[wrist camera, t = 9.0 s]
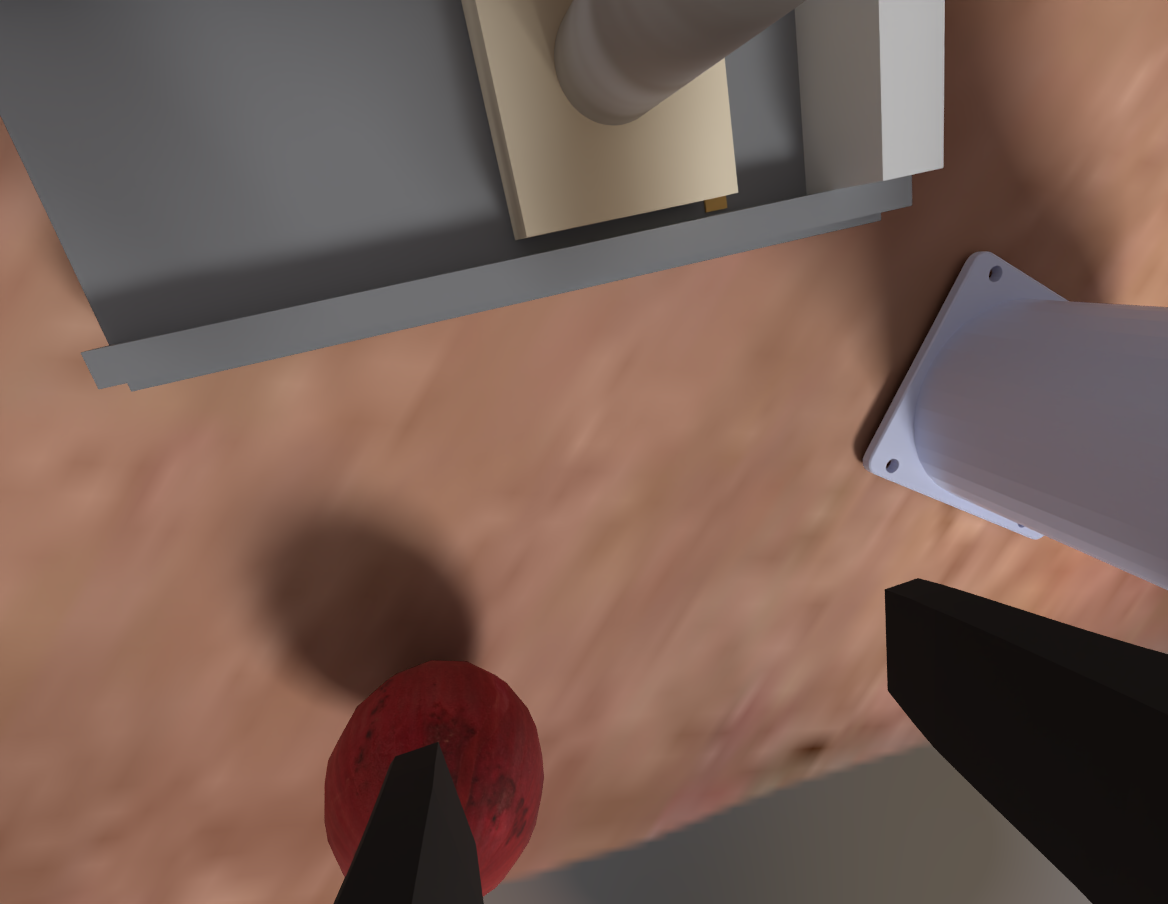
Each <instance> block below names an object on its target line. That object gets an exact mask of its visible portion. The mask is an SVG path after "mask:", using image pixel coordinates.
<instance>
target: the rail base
mask: <svg viewBox="0 0 1168 904" xmlns="http://www.w3.org/2000/svg"><path fill="white" fill-rule="evenodd" d="M944 32H945V0H806V1H804V2H803V3H802V4H800V5H799V6H798V7H796V8H795V9H793V10H792V11H790V12H789V13H788V14H786V15H785V16H783V17H782V18H780V19H779V20H778V21H776V22H775V23H773V24H772V25H771V26H769V27H768V28H766V29H765V30H763V31H762V32H761V33H759V34H758V35H756V36H755V37H753V38H752V39H751V40H749V41H748V42H746V43H745V44H743V45H742V46H741V47H739V48H738V49H736V50H735V51H733V52H732V53H731V54H729V55H728V56H726V57H725V66H726V76H727V86H728V96H729V106H730V116H731V126H732V136H733V146H734V155H735V165H736V175H737V185H738V193H734V194H730V195H726V196H721V197H717V198H713V199H708V200H704V201H699V202H695V203H690V204H685V205H681V206H676V207H671V208H666V209H662V210H657V211H652V212H647V213H643V214H638V215H633V216H628V217H624V218H619V219H614V220H609V221H605V222H600V223H595V224H590V225H586V226H581V227H576V228H572V229H567V230H562V231H557V232H553V233H548V234H543V235H538V236H534V237H529V238H524V239H519V240H515V237H514V233H513V229H512V224H511V220H510V215H509V211H508V206H507V202H506V197H505V193H504V189H503V184H502V180H501V175H500V171H499V166H498V162H497V158H496V153H495V149H494V144H493V140H492V135H491V131H490V126H489V122H488V118H487V113H486V109H485V104H484V100H483V95H482V91H481V87H480V82H479V78H478V73H477V69H476V64H475V60H474V55H473V51H472V47H471V42H470V38H469V33H468V29H467V24H466V20H465V16H464V11H463V7H462V2H461V0H0V116H1V118H2V120H3V122H4V124H5V126H6V128H7V130H8V132H9V135H10V137H11V139H12V141H13V143H14V145H15V147H16V149H17V151H18V154H19V156H20V158H21V160H22V162H23V164H24V166H25V168H26V170H27V173H28V175H29V177H30V179H31V181H32V183H33V185H34V187H35V189H36V192H37V194H38V196H39V198H40V200H41V202H42V204H43V206H44V208H45V211H46V213H47V215H48V217H49V219H50V221H51V223H52V225H53V227H54V229H55V232H56V234H57V236H58V238H59V240H60V242H61V244H62V246H63V248H64V251H65V253H66V255H67V257H68V259H69V261H70V263H71V265H72V267H73V270H74V272H75V274H76V276H77V278H78V280H79V282H80V284H81V286H82V289H83V291H84V293H85V295H86V297H87V299H88V301H89V303H90V305H91V308H92V310H93V312H94V314H95V316H96V318H97V320H98V322H99V324H100V327H101V329H102V331H103V333H104V335H105V337H106V339H107V341H108V343H109V346H105V347H101V348H97V349H93V350H89V351H85V352H81V355H82V357H83V359H84V361H85V363H86V365H87V367H88V369H89V371H90V373H91V375H92V377H93V379H94V381H95V383H96V385H97V387H98V389H102V388H107V387H111V386H116V385H120V384H125V383H128V386H129V388H130V390H131V392H132V391H136V390H140V389H145V388H149V387H154V386H158V385H162V384H167V383H171V382H175V381H180V380H184V379H189V378H193V377H197V376H202V375H206V374H211V373H215V372H219V371H224V370H228V369H232V368H237V367H241V366H246V365H250V364H254V363H259V362H263V361H267V360H272V359H276V358H281V357H285V356H289V355H294V354H298V353H302V352H307V351H311V350H316V349H320V348H324V347H329V346H333V345H338V344H342V343H346V342H351V341H355V340H359V339H364V338H368V337H373V336H377V335H381V334H386V333H390V332H394V331H399V330H403V329H408V328H412V327H416V326H421V325H425V324H429V323H434V322H438V321H443V320H447V319H451V318H456V317H460V316H465V315H469V314H473V313H478V312H482V311H486V310H491V309H495V308H500V307H504V306H508V305H513V304H517V303H521V302H526V301H530V300H535V299H539V298H543V297H548V296H552V295H556V294H561V293H565V292H570V291H574V290H578V289H583V288H587V287H592V286H596V285H600V284H605V283H609V282H613V281H618V280H622V279H627V278H631V277H635V276H640V275H644V274H648V273H653V272H657V271H662V270H666V269H670V268H675V267H679V266H683V265H688V264H692V263H697V262H701V261H705V260H710V259H714V258H719V257H723V256H727V255H732V254H736V253H740V252H745V251H749V250H754V249H758V248H762V247H767V246H771V245H775V244H780V243H784V242H789V241H793V240H797V239H802V238H806V237H810V236H815V235H819V234H824V233H828V232H832V231H837V230H841V229H845V228H850V227H854V226H859V225H863V224H867V223H872V222H876V221H881V212H886V211H890V210H895V209H899V208H903V207H908V206H912V175H913V174H918V173H922V172H927V171H931V170H936V169H941V168H943V157H944Z"/></svg>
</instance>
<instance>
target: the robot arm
mask: <svg viewBox="0 0 1168 904" xmlns="http://www.w3.org/2000/svg"><path fill="white" fill-rule="evenodd" d="M991 269H992V274H991V277H990V278H989V273H990V270H991ZM889 460H891V463H890V465H889V467H888V468H886V465H887V463H888V462H889ZM863 466H864V468H865V469H866V470H867V471H869V472H871V473H873V474H875V475H878V476H880V477H883V478H885V479H888V480H890V481H892V482H895V483H897V484H900V485H902V486H905V487H907V488H909V489H912V490H914V491H917V492H919V493H922V494H924V495H926V496H929V497H931V498H934V499H936V500H939V501H941V502H943V503H946V504H948V505H951V506H953V507H956V508H958V509H960V510H963V511H965V512H968V513H970V514H973V515H975V516H977V517H980V518H982V519H985V520H987V521H990V522H992V523H995V524H997V525H999V526H1002V527H1004V528H1007V529H1009V530H1012V531H1014V532H1016V533H1019V534H1021V535H1024V536H1026V537H1029V538H1031V539H1039V538H1041V537H1043V536H1044V535H1045V536H1047V537H1049V538H1052V539H1054V540H1056V541H1058V542H1061V543H1063V544H1065V545H1067V546H1070V547H1072V548H1074V549H1076V550H1079V551H1081V552H1083V553H1085V554H1088V555H1090V556H1092V557H1094V558H1097V559H1099V560H1101V561H1103V562H1106V563H1108V564H1110V565H1112V566H1115V567H1117V568H1119V569H1121V570H1123V571H1126V572H1128V573H1130V574H1132V575H1135V576H1137V577H1139V578H1141V579H1144V580H1146V581H1148V582H1150V583H1153V584H1155V585H1157V586H1159V587H1162V588H1164V589H1166V590H1168V307H1154V306H1137V305H1121V304H1104V303H1088V302H1071V301H1068V300H1066V299H1065V298H1063V297H1061V296H1060V295H1058V294H1057V293H1055V292H1054V291H1052V290H1050V289H1049V288H1047V287H1046V286H1044V285H1042V284H1041V283H1039V282H1038V281H1036V280H1034V279H1033V278H1031V277H1030V276H1028V275H1027V274H1025V273H1023V272H1022V271H1020V270H1019V269H1017V268H1015V267H1014V266H1012V265H1011V264H1009V263H1007V262H1006V261H1004V260H1003V259H1001V258H1000V257H998V256H996V255H995V254H993V253H991V252H988V251H981V252H975V253H973V254H972V255H970V256H969V258H968V259H967V260H966V262H965V264H964V266H963V268H962V270H961V272H960V273H959V275H958V277H957V279H956V281H955V283H954V285H953V287H952V289H951V291H950V292H949V294H948V296H947V298H946V300H945V302H944V304H943V306H942V308H941V310H940V312H939V313H938V315H937V317H936V319H935V321H934V323H933V325H932V327H931V329H930V331H929V332H928V334H927V336H926V338H925V340H924V342H923V344H922V346H921V348H920V350H919V352H918V353H917V355H916V357H915V359H914V361H913V363H912V365H911V367H910V369H909V371H908V372H907V374H906V376H905V378H904V380H903V382H902V384H901V386H900V388H899V390H898V392H897V393H896V395H895V397H894V399H893V401H892V403H891V405H890V407H889V409H888V411H887V412H886V414H885V416H884V418H883V420H882V422H881V424H880V426H879V428H878V430H877V432H876V433H875V435H874V437H873V439H872V441H871V443H870V445H869V447H868V449H867V451H866V452H865V455H864V457H863ZM885 613H886V647H887V681H888V691H889V693H890V694H891V695H892V697H893V698H894V699H895V700H896V702H897V703H898V704H899V705H900V707H901V708H902V709H903V710H904V712H905V713H906V714H907V716H908V717H909V718H910V719H911V721H912V722H913V723H914V724H915V725H916V727H917V728H918V729H919V730H920V731H921V733H922V734H923V735H924V736H925V737H926V738H927V740H928V741H929V742H930V743H931V744H932V746H933V747H934V748H935V749H936V750H937V751H938V752H939V753H940V754H941V755H942V756H943V757H944V758H945V759H946V760H947V761H948V762H949V763H950V764H951V765H952V766H953V767H954V768H955V769H956V770H957V771H958V772H959V773H960V774H961V775H962V776H963V777H964V778H965V779H966V780H967V781H968V782H969V783H970V784H971V785H972V786H973V787H974V788H975V789H976V790H977V791H978V792H979V793H980V794H982V796H983V797H984V798H985V799H987V800H988V801H989V802H990V803H991V804H992V805H993V806H994V807H995V808H996V809H997V810H998V811H999V812H1000V813H1001V814H1002V815H1003V816H1004V817H1005V818H1006V819H1007V820H1008V821H1009V822H1010V823H1011V824H1012V825H1013V826H1014V827H1015V828H1016V829H1017V830H1018V831H1019V832H1021V834H1023V836H1025V837H1026V838H1027V839H1028V840H1029V841H1030V842H1031V843H1032V844H1033V845H1034V846H1035V847H1036V848H1037V849H1038V850H1039V851H1040V852H1041V853H1042V854H1043V855H1044V856H1045V857H1046V858H1047V859H1048V860H1049V861H1050V862H1051V863H1052V864H1053V865H1054V866H1055V867H1056V868H1057V869H1058V870H1059V871H1061V872H1062V873H1063V874H1064V875H1065V876H1066V877H1067V878H1068V879H1069V880H1070V881H1071V882H1072V883H1073V884H1074V885H1075V886H1076V887H1077V888H1078V889H1079V890H1080V891H1081V892H1082V893H1083V894H1084V895H1085V896H1086V897H1087V899H1088V900H1089V901H1090V902H1091V903H1092V904H1168V654H1165V653H1162V652H1158V651H1154V650H1151V649H1147V648H1144V647H1140V646H1137V645H1133V644H1130V643H1127V642H1123V641H1120V640H1117V639H1113V638H1110V637H1106V636H1103V635H1100V634H1097V633H1093V632H1090V631H1087V630H1084V629H1080V628H1077V627H1074V626H1071V625H1068V624H1065V623H1061V622H1058V621H1055V620H1052V619H1049V618H1046V617H1043V616H1039V615H1036V614H1033V613H1030V612H1027V611H1024V610H1021V609H1018V608H1015V607H1011V606H1008V605H1005V604H1002V603H999V602H996V601H993V600H990V599H987V598H984V597H980V596H977V595H974V594H971V593H968V592H964V591H961V590H958V589H955V588H951V587H948V586H945V585H941V584H938V583H934V582H930V581H927V580H923V579H919V578H917V579H914V580H911V581H908V582H905V583H902V584H900V585H897V586H894V587H891V588H888V589H885ZM334 904H484V903H483V895H482V886H481V879H480V871H479V864H478V856H477V848H476V843H475V840H474V837H473V834H472V832H471V829H470V826H469V824H468V821H467V818H466V815H465V813H464V810H463V807H462V805H461V802H460V799H459V796H458V794H457V791H456V788H455V786H454V783H453V780H452V777H451V775H450V772H449V769H448V767H447V764H446V761H445V758H444V756H443V753H442V750H441V748H440V745H439V742H436V743H433V744H430V745H427V746H424V747H421V748H418V749H416V750H413V751H410V752H407V753H404V754H401V755H398V756H395V758H394V759H393V761H392V762H391V764H390V765H389V768H388V771H387V774H386V776H385V779H384V782H383V784H382V787H381V790H380V792H379V795H378V798H377V800H376V803H375V805H374V808H373V811H372V813H371V816H370V818H369V821H368V823H367V826H366V828H365V831H364V833H363V836H362V838H361V841H360V843H359V846H358V848H357V850H356V853H355V855H354V858H353V860H352V863H351V865H350V867H349V869H348V872H347V874H346V876H345V879H344V881H343V883H342V886H341V888H340V890H339V892H338V895H337V897H336V899H335V902H334Z"/></svg>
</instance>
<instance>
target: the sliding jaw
mask: <svg viewBox="0 0 1168 904" xmlns="http://www.w3.org/2000/svg"><path fill="white" fill-rule="evenodd" d="M804 1H806V0H461V2H462V7H463V11H464V16H465V20H466V24H467V29H468V33H469V38H470V42H471V47H472V51H473V55H474V60H475V64H476V69H477V73H478V78H479V82H480V87H481V91H482V95H483V100H484V104H485V109H486V113H487V118H488V122H489V126H490V131H491V135H492V140H493V144H494V149H495V153H496V158H497V162H498V166H499V171H500V175H501V180H502V184H503V189H504V193H505V197H506V202H507V206H508V211H509V215H510V220H511V224H512V229H513V233H514V237H515V240H519V239H524V238H529V237H534V236H538V235H543V234H548V233H553V232H557V231H562V230H567V229H572V228H576V227H581V226H586V225H590V224H595V223H600V222H605V221H609V220H614V219H619V218H624V217H628V216H633V215H638V214H643V213H647V212H652V211H657V210H662V209H666V208H671V207H676V206H681V205H685V204H690V203H695V202H699V201H704V200H708V199H713V198H717V197H721V196H726V195H730V194H734V193H738V185H737V175H736V165H735V155H734V146H733V136H732V126H731V116H730V106H729V96H728V86H727V76H726V66H725V57H726V56H728V55H729V54H731V53H732V52H733V51H735V50H736V49H738V48H739V47H741V46H742V45H743V44H745V43H746V42H748V41H749V40H751V39H752V38H753V37H755V36H756V35H758V34H759V33H761V32H762V31H763V30H765V29H766V28H768V27H769V26H771V25H772V24H773V23H775V22H776V21H778V20H779V19H780V18H782V17H783V16H785V15H786V14H788V13H789V12H790V11H792V10H793V9H795V8H796V7H798V6H799V5H800V4H802V3H803V2H804Z"/></svg>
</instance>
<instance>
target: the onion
mask: <svg viewBox="0 0 1168 904" xmlns="http://www.w3.org/2000/svg"><path fill="white" fill-rule="evenodd" d="M436 742H439V745H440V748H441V750H442V753H443V756H444V758H445V761H446V764H447V767H448V769H449V772H450V775H451V777H452V780H453V783H454V786H455V788H456V791H457V794H458V796H459V799H460V802H461V805H462V807H463V810H464V813H465V815H466V818H467V821H468V824H469V826H470V829H471V832H472V834H473V837H474V840H475V843H476V848H477V856H478V864H479V871H480V879H481V886H482V895H483V896H485V895H486V894H487V893H489V892H490V891H492V890H493V889H495V888H496V887H497V885H498V884H499V883H500V882H501V881H502V880H503V879H504V878H505V876H506V875H507V873H508V872H509V871H510V869H511V868H512V866H513V865H514V864H515V862H516V861H517V859H518V858H519V857H520V855H521V853H522V852H523V850H524V849H525V847H526V846H527V844H528V842H529V840H530V838H531V835H532V832H533V830H534V827H535V825H536V820H537V815H538V810H539V805H540V801H541V795H542V788H543V781H544V772H543V760H542V752H541V747H540V743H539V738H538V733H537V729H536V725H535V723H534V721H533V719H532V717H531V715H530V712H529V710H528V708H527V707H526V706H525V704H524V703H523V702H522V701H521V700H520V698H519V697H518V696H517V695H516V694H515V692H514V691H513V690H512V689H511V688H510V686H509V685H508V684H507V683H506V682H504V681H503V680H501V679H500V678H499V677H497V676H496V675H494V674H492V673H490V672H488V671H486V670H484V669H481V668H479V667H477V666H475V665H473V664H471V663H469V662H467V661H436V660H430V661H428V662H425V663H423V664H420V665H418V666H415V667H412V668H410V669H407V670H405V671H402V672H400V673H397V674H395V675H394V676H393V677H391V678H390V679H388V680H387V681H386V682H385V683H383V684H382V685H381V686H380V687H379V688H378V689H377V690H376V691H374V692H373V693H372V694H371V695H370V696H369V697H368V698H367V699H365V700H364V701H363V702H362V703H361V704H360V705H359V706H358V707H357V708H356V710H355V711H354V713H353V715H352V717H351V719H350V720H349V722H348V724H347V726H346V728H345V729H344V731H343V733H342V735H341V737H340V738H339V740H338V742H337V744H336V746H335V748H334V750H333V752H332V754H331V756H330V758H329V760H328V765H327V772H326V778H325V827H326V833H327V838H328V842H329V845H330V847H331V849H332V851H333V854H334V856H335V858H336V860H337V862H338V864H339V866H340V868H341V871H342V873H343V875H344V876H346V874H347V872H348V869H349V867H350V865H351V863H352V860H353V858H354V855H355V853H356V850H357V848H358V846H359V843H360V841H361V838H362V836H363V833H364V831H365V828H366V826H367V823H368V821H369V818H370V816H371V813H372V811H373V808H374V805H375V803H376V800H377V798H378V795H379V792H380V790H381V787H382V784H383V782H384V779H385V776H386V774H387V771H388V768H389V765H390V764H391V762H392V761H393V759H394V758H395V756H398V755H401V754H404V753H407V752H410V751H413V750H416V749H418V748H421V747H424V746H427V745H430V744H433V743H436Z"/></svg>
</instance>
